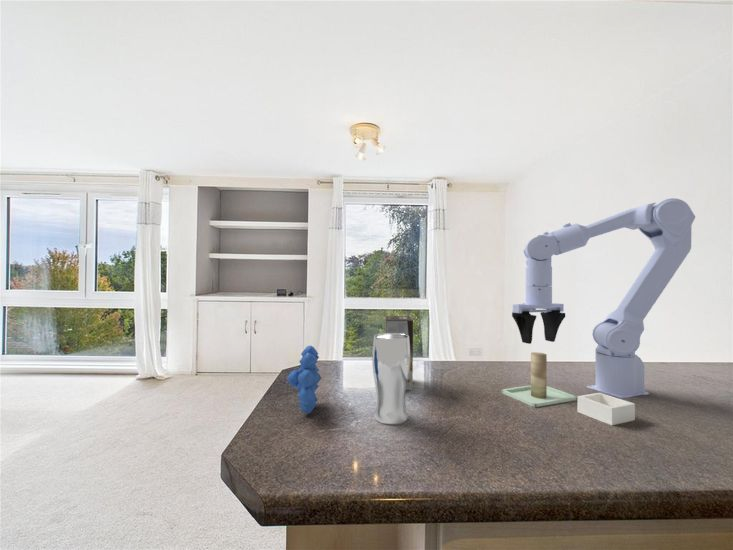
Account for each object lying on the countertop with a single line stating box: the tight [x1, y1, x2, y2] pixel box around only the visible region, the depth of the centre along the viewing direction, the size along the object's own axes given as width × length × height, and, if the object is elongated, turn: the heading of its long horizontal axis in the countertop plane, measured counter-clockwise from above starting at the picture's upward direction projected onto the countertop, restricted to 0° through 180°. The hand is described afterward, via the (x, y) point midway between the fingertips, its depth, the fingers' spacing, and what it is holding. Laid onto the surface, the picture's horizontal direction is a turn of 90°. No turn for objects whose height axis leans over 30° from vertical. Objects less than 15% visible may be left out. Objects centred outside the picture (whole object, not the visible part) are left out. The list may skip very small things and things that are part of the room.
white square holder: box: [576, 392, 636, 426], centre depth 61 cm, size 6×6×4 cm
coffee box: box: [384, 315, 414, 391], centre depth 80 cm, size 9×6×16 cm
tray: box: [500, 384, 578, 408], centre depth 71 cm, size 12×9×1 cm
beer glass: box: [371, 332, 410, 426], centre depth 61 cm, size 7×7×15 cm
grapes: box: [286, 345, 322, 414], centre depth 64 cm, size 12×7×12 cm, turn 5°
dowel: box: [530, 351, 548, 399], centre depth 71 cm, size 3×3×9 cm
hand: (538, 342), depth 80 cm, fingers open, 7 cm apart
